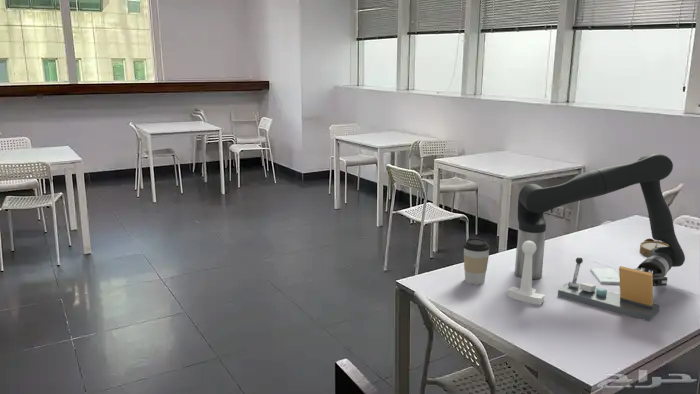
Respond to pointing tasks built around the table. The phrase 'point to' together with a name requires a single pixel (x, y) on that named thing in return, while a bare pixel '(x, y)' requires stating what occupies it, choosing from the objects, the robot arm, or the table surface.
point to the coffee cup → (475, 260)
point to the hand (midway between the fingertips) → (636, 284)
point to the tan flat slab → (636, 287)
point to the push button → (601, 292)
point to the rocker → (587, 287)
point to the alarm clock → (651, 246)
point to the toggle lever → (576, 274)
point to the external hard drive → (606, 276)
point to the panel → (609, 302)
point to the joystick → (527, 279)
